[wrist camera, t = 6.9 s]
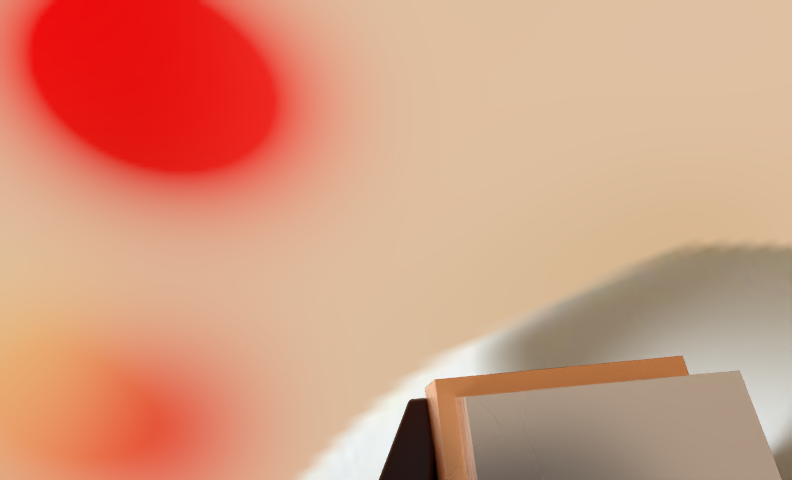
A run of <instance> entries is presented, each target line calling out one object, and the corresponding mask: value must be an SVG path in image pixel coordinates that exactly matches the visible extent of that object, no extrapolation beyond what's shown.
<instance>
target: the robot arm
mask: <svg viewBox="0 0 792 480" xmlns="http://www.w3.org/2000/svg"><path fill="white" fill-rule="evenodd" d="M379 480H437V476H436V464H435V452H434V444H433V437H432V430H431V424H430V417H429V410H428V403H427V399H426V398H420V399H411V400H410V401H409V402H408V404H407V407H406V409H405V412H404V415H403V417H402V420H401V423H400V425H399V428H398V431H397V433H396V436H395V438H394V441H393V444H392V446H391V449H390V452H389V454H388V457H387V460H386V462H385V465H384V468H383V470H382V473H381V475H380V478H379Z"/></svg>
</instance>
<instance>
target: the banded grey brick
mask: <svg viewBox="0 0 792 480" xmlns="http://www.w3.org/2000/svg"><path fill="white" fill-rule="evenodd" d="M425 392H426V399H427V403H428V410H429V417H430V424H431V430H432V437H433V444H434V452H435V464H436V476H437V480H782V478H781V476H780V473H779V471H778V468H777V466H776V463H775V460H774V458H773V455H772V453H771V450H770V448H769V445H768V443H767V440H766V437H765V435H764V432H763V430H762V427H761V425H760V422H759V420H758V417H757V414H756V412H755V409H754V407H753V404H752V402H751V399H750V397H749V394H748V391H747V389H746V386H745V384H744V381H743V379H742V376H741V374H740V371H730V372H717V373H705V374H692V375H689V374H688V371H687V368H686V365H685V362H684V359H683V356H675V357H664V358H654V359H644V360H633V361H623V362H612V363H602V364H592V365H581V366H571V367H561V368H550V369H540V370H529V371H519V372H509V373H498V374H488V375H478V376H467V377H457V378H446V379H436V380H434V381H433V382H432V383H430V384H429V385H428V386H427V387H426V388H425Z"/></svg>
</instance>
